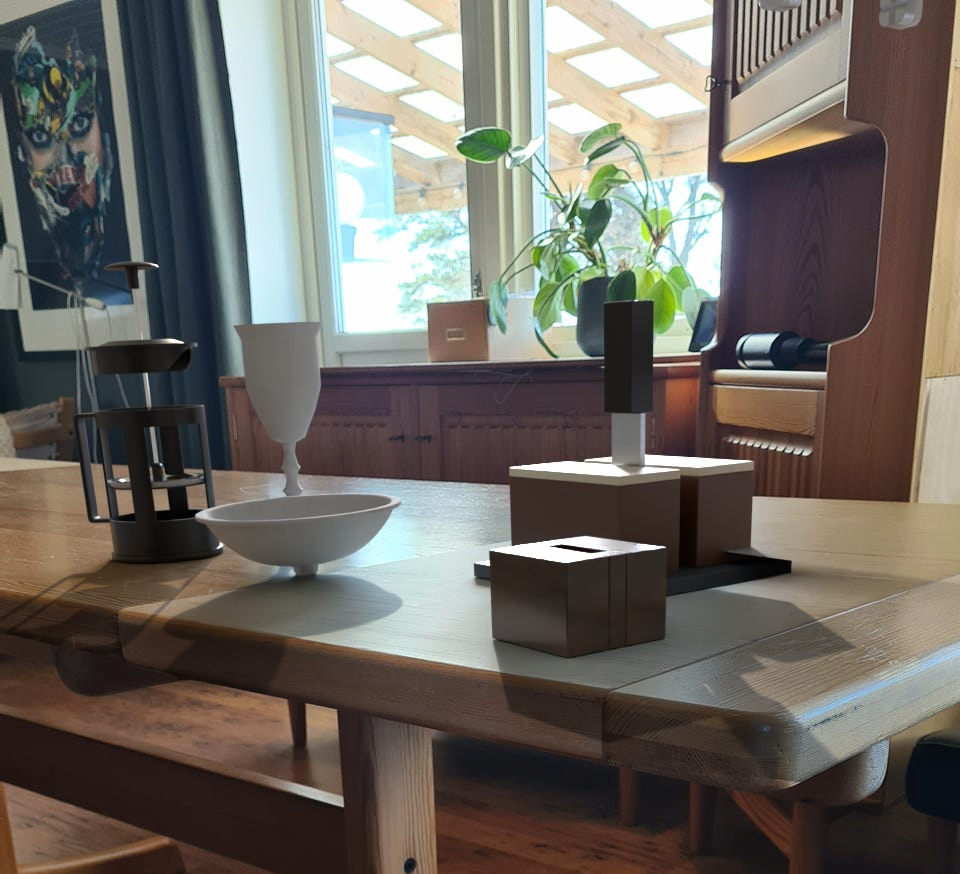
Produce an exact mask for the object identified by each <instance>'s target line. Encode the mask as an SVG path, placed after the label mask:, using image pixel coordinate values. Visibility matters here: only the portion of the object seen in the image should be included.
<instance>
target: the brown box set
mask: <svg viewBox="0 0 960 874" xmlns="http://www.w3.org/2000/svg"><path fill="white" fill-rule="evenodd" d="M754 470H755V461H753V460H740V459H725V458H724V459H723V458H709V457H708V458H707V457H706V458H705V457H688V456H675V455H673V456H671V455H654V454H645V467H636V466H622V465H612V456H608V457H599V458H588V459H584V460H583V462H580V461H579V462H578V461H559V462H549V463H539V464H530V465H521V466H520V465H519V466H510V467H509V468H508V472H509V480H508V481H509V508H510V510H509V511H510V513H509V515H510V542H511V544H510V545H511V546H510V547H513V546H520V545H527V544H534V543H541V542H548V541H554V540H561V539H568V538H575V537H582V536H589V537H596V538H603V539H610V540H618V541H625V542H632V543H639V544H646V545H654V546H661V547H666V548H667V569H666V595H667V596H672V594H673V595H678V594H683V592H684V593H689V592H695V591H700V590H706V589H711V588H717V587H722V586H727V585H733V584H739V583H743V582H744V583H745V582H749V581H754V580H761V579H766V578H771V577H777V576H783V575H788V574H792V568H793V567H792V566H793V560H792V559H791V560H790V559H783V558H777V557H769V556H763V555H762V556H761V555H755V554H746V553H740V552H739V553H738V552H731V551H734V550H741V549H747V548H751V547H752V526H753V525H752V523H753V502H754V501H753V497H754V475H755V474H754ZM473 576H474V577H476V578H480V579H486V580H490V563H489V560H484V561H477V562H474V563H473Z"/></svg>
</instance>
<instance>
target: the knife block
mask: <svg viewBox="0 0 960 874" xmlns="http://www.w3.org/2000/svg"><path fill="white" fill-rule="evenodd" d="M488 561H489V563H490V579H489V585H490V587H489V589H490V613H491V615H490V617H491V637H492V639H495V640H499V641H502V642H506V643H510V644H514V645H518V646H521V647H525V648H530V649H533V650H537V651H540V652H545V653H549V654H553V655H555V656H560V657H563V658H572V657H579V656H583V655H588V654H592V653H598V652H601V651H602V652H603V651H606V650H613V649H616V648H623V647H628V646H632V645H638V644H644V643H648V642H652V641H657V640H663V639H666V636H667V635H666V634H667V633H666V632H667V631H666V630H667V596H666V569H667V548H666V547H661V546H654V545H646V544H639V543H632V542H625V541H618V540H610V539H603V538H596V537H589V536H582V537H575V538H568V539H561V540H554V541H548V542H541V543H534V544H527V545H520V546H513V547H511V546H507V547H500V548H492V549H489V550H488ZM662 638H663V639H662Z"/></svg>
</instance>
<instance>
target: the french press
mask: <svg viewBox="0 0 960 874" xmlns="http://www.w3.org/2000/svg"><path fill="white" fill-rule="evenodd" d="M103 269H104V271H105V270H106V271H125V277H126V282H127V288H128V290H131V293H132V299H133V307H134V308H133V309H134V315H135V323H136V329H137V331H136V333H137V338H138V339H131V340H129V339H128V340H113V341H112V340H111V341H107V342H104V343H102V344H99V345H97V346H85V347H84V351H85V352H90V356H91V361H92V369H93V376H105V375H109V376H110V375H131V374H132V375H133V374H142V377H143V384H144V392H145V393H144V394H145V401H146V406H138V407H137V406H136V407H135V406H134V407H119V408H108V409H107V408H106V409H98V410H93V412H83V413H75V414H74V415H73V416H72V421H73V428H74V435H75V440H76V442H75V443H76V449H77V454H78V462H79V468H80V476H81V482H82V488H83V495H84V501H85V508H86V515H87V520H88V522H89V523H90V524H109V528H110V534H111V541H112V548H113V551H112V552H111V559H112V561H115V562H119V563H124V564H125V563H126V564H164V563H176V562H177V563H178V562H186V561H194V560H199V559H200V560H201V559H205V558H210V557H214V556H217V555H219V554H222V553H223V552H224V544H223V543H221V541H220V540H219V539H218V538H217V537H216V536H215V535H214V534H213V533H212V532H211V530H210V529H209V528H208V527H207V525H206V524H203V523H200V522H198V521H196V519H195V515H196V514H197V513H199V512H201V511H203V510H206V509H209V508H213V507H217V505H216V499H215V491H214V481H213V480H214V479H213V474H212V462H211V455H210V447H209V435H208V429H207V418H206V410H205V405H204V404H182V405H180V404H178V405H155V406H153V405H152V400H151V392H150V391H151V390H150V385H149V384H150V383H149V375H148V374H150V373H151V374H152V373H164V372H166V373H167V372H185V371H187V370H189V369H190V367H191V365H192V363H193V357H194V356H193V355H194V353H193V348H197V347H198V342H183V341H180V340H177V339H174V338H157V339H155V338H153V339H144V338H143V336H144V335H143V329H142V321H141V314H140V313H141V312H140V306H139V299H138V291H137V290H140V289H141V286H140V284H141V283H140V274H139V273H140V271H146V270H156V269H159V265H158V264H155V263H153V262H148V261H119V262H115V263H110V264H108V265H106V266H104V268H103ZM86 419H94V423H95V428H96V430H97V438H98V445H99V452H100V458H101V465H102V471H103V472H102V473H103V479H104V486H105V493H106V498H107V499H106V501H107V506H108V515H109V516H100V515H99V510H98V504H97V503H98V502H97V497H96V489H95V484H94V483H95V481H94V476H93V469H92V462H91V455H90V449H89V443H88V442H89V441H88V435H87V428H86V421H85V420H86ZM196 424H197V429H198V437H199V446H200V454H201V464H202V471H203V472H185V465H184V457H183V456H184V455H183V448H182V440H181V439H182V438H181V432H180V426H185V425H187V426H188V425H196ZM146 428H149V432H150V439H151V446H152V455H153V463H152V464H151V469H150V460H149V453H148V446H147V439H146V431H145V429H146ZM155 428H158V430H159V437H160V444H161V445H160V446H161V453H162V462H163V464H162V463H161V462H159V454H158V446H157V439H156V432H155V431H156V430H155ZM108 429H122V433H123V439H124V447H125V448H124V449H125V453H126V462H127V468H128V475H127V476H121V477H116V478H115V476H114V470H113V469H114V468H113V462H112V455H111V448H110V441H109V433H108ZM202 485H204V490H205V498H206V499H205V500H206V507H207V508H190V507H189V506H190V505H189V499H188V498H189V497H188V489H187V488H188V487H196V486H202ZM153 490H166V493H167V500H168V501H167V502H168V509H158V510H157V509H156V508H155V506H156V505H155V500H154V499H155V498H154V492H153ZM117 491H131V499H132V506H133V507H132V508H133V512H129V513H123V514H120V512H119V505H118V497H117Z"/></svg>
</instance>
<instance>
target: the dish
mask: <svg viewBox="0 0 960 874" xmlns="http://www.w3.org/2000/svg"><path fill="white" fill-rule="evenodd" d="M401 505H402V499H401V498H400V497H397V496H395V495H389V494H380V493H360V492H359V493H358V492H357V493H356V492H355V493H350V492H349V493H347V492H346V493H321V494H320V493H319V494H318V493H317V494H300V496H288V497H287V496H279V497H269V498H268V497H267V498H261V499H253V500H246V501H239V502H233V503H227V504H222V505H216V507H213V508H209V509H208V508H205V509H206V510H203V511H201V512H199V513H197V514H196V515H195V519H196V521H198V522H200V523H203V524H206V525H207V527H208V528H209V529H210V530H211V532H212V533H213V534H214V535H215V536H216V537H217V538H218V539H219V541H220V543H221V544H223V545H224V546H226V547H227V548H228V549H229V550H231V551H232V552H234V553H236V554H237V555H239V556H240V557H243V558H244V559H246V560H250V561H252V562H255V563H259V564H262V565H266V566H267V565H268V566H274V567H275V566H276V567H292V569H293V571H294V574H295V575H297V576H309V575H315V574H317V573H318V571H319V565H322V564H326V563H331V562H335V561H337V560H341V559H342V558H343V559H344V558H346V557H349V556H351V555H353V554H355V553H356V552H359V551H360V550H362V549H363V548H364V547H365V546H367V545H368V544H369V543H370V542H371V541H372V540H373V539H374V538H375V537H376V536H377V535H378V534H379V532H380V531H381V530H382V529H383V527H384V526H385V524H386V523H387V521H388V520H389V518H390V517H391V515H392V512H393V510H395V509H397V508H399V507H401Z"/></svg>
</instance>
